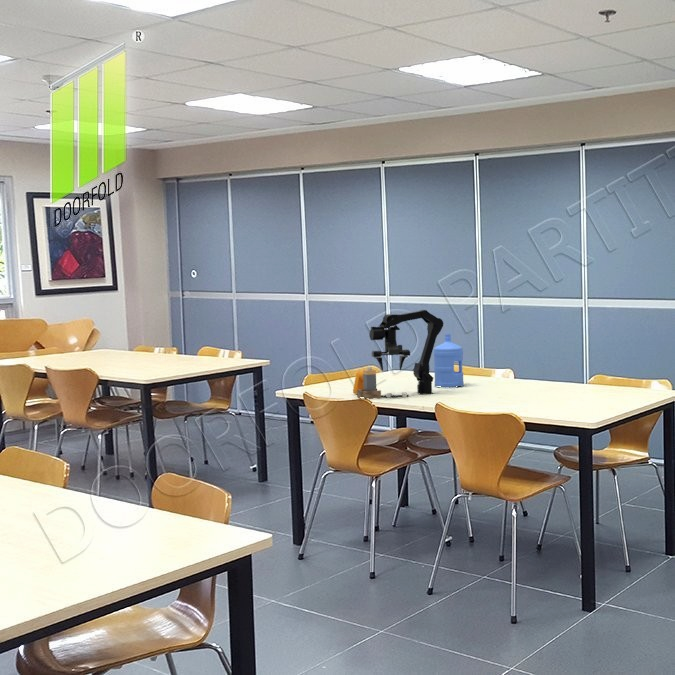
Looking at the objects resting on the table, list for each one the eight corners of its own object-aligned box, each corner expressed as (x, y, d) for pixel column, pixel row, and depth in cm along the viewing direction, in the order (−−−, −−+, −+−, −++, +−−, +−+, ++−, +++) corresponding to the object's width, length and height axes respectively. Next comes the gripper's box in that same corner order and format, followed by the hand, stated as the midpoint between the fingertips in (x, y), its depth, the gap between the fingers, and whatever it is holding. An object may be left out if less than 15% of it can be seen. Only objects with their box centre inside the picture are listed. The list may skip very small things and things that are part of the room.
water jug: (433, 388, 491) (432, 335, 489) (435, 384, 506) (434, 333, 504) (463, 387, 488) (462, 335, 486) (464, 384, 504) (462, 333, 502)
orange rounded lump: (364, 395, 469) (363, 372, 468) (353, 395, 473) (352, 371, 473) (377, 393, 477) (376, 370, 476) (365, 392, 482) (365, 369, 481)
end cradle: (376, 395, 466) (376, 388, 466) (381, 398, 456) (380, 390, 456) (357, 396, 464) (357, 389, 464) (361, 399, 455) (361, 391, 454)
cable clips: (406, 396, 460) (406, 392, 460) (406, 397, 457) (406, 393, 457) (386, 396, 461) (386, 392, 461) (386, 397, 457) (386, 393, 457)
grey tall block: (373, 395, 463) (372, 366, 463) (376, 396, 459) (375, 367, 458) (363, 395, 462) (362, 366, 461) (367, 396, 457) (366, 367, 456)
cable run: (408, 396, 459) (408, 394, 459) (408, 397, 457) (408, 395, 457) (379, 397, 461) (379, 395, 461) (379, 397, 459) (379, 395, 459)
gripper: (375, 341, 452) (376, 372, 453) (412, 339, 455) (413, 371, 456) (371, 339, 463) (371, 370, 464) (407, 338, 466) (407, 369, 467)
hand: (391, 370), depth 462 cm, fingers open, 9 cm apart
